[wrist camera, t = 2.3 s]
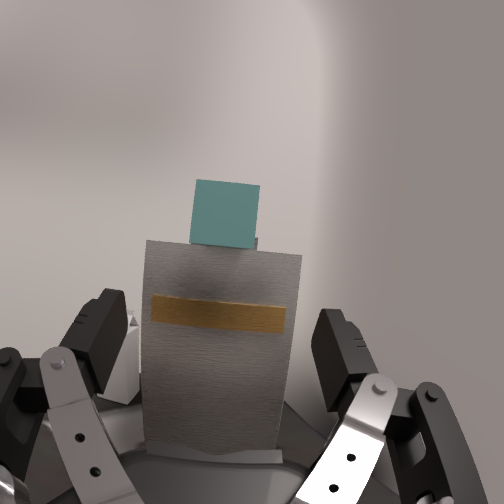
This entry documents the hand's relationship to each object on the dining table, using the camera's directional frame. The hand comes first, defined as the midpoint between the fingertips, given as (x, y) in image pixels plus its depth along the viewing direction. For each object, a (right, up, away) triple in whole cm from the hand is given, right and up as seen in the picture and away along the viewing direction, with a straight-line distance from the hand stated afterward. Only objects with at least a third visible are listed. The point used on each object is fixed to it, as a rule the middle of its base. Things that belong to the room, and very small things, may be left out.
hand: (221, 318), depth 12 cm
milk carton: (-26, -27, +40) cm, 55 cm away
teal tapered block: (-2, +3, +18) cm, 18 cm away
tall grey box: (-5, -29, +24) cm, 38 cm away
